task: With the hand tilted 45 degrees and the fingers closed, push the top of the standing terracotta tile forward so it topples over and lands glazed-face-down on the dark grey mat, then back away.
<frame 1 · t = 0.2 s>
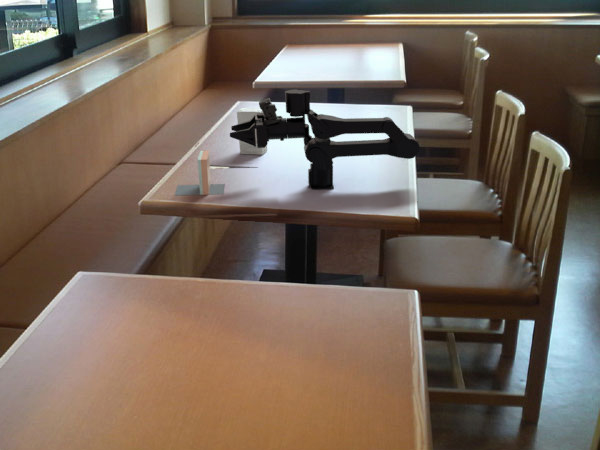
hand: (230, 131, 185), 16 cm above the table, tool horizontal, fingers open, 9 cm apart
skincare box: (253, 153, 226), on the table
tile: (205, 189, 188), point 1 cm above the table, touching mat
chocolate bar: (226, 173, 206), on the table
mat: (200, 191, 188), on the table
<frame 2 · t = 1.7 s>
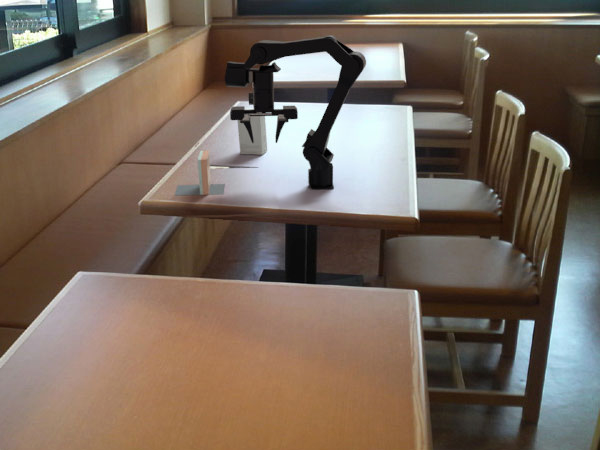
hand: (264, 142, 191), 12 cm above the table, tool pointing down, fingers open, 6 cm apart
nothing on the table moved.
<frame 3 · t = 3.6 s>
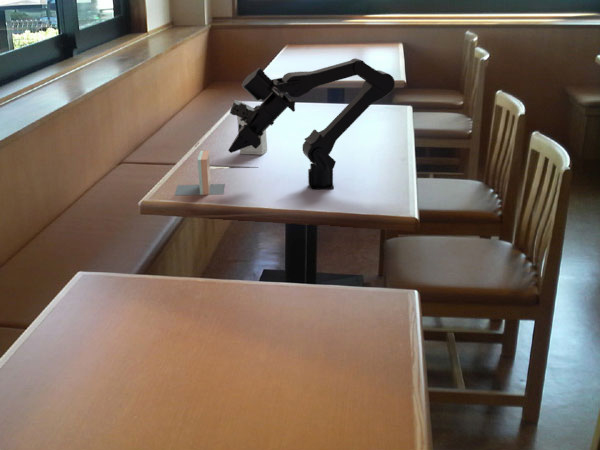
hand: (229, 151, 184), 11 cm above the table, tool tilted 45°, fingers closed
nothing on the table moved.
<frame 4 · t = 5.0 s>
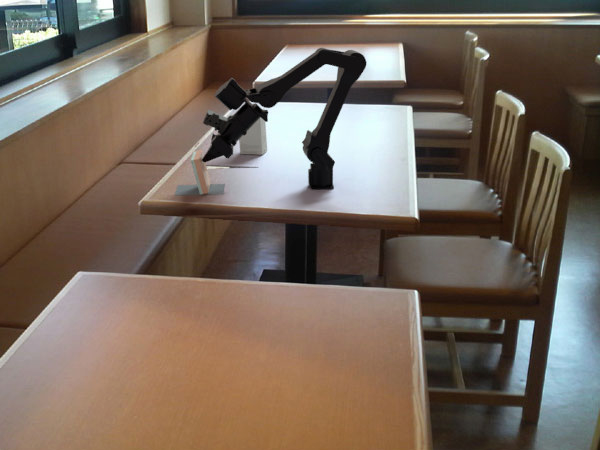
hand: (203, 161, 185), 9 cm above the table, tool tilted 45°, fingers closed
tile: (205, 188, 188), point 1 cm above the table, tilted 11°, touching mat
everything else where it was.
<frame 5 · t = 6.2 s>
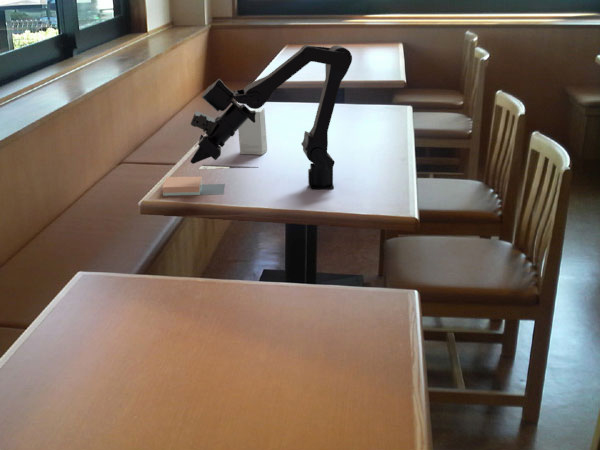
hand: (191, 162, 185), 9 cm above the table, tool tilted 45°, fingers closed
tile: (200, 185, 187), point 2 cm above the table, tilted 90°, touching mat
everything else where it was.
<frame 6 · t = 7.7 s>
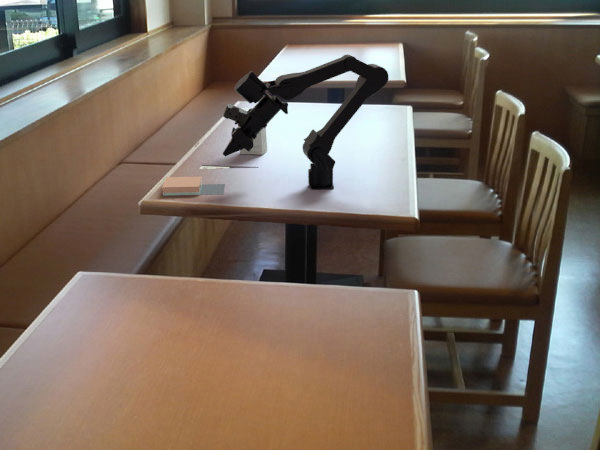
hand: (223, 154, 185), 10 cm above the table, tool tilted 45°, fingers closed
nothing on the table moved.
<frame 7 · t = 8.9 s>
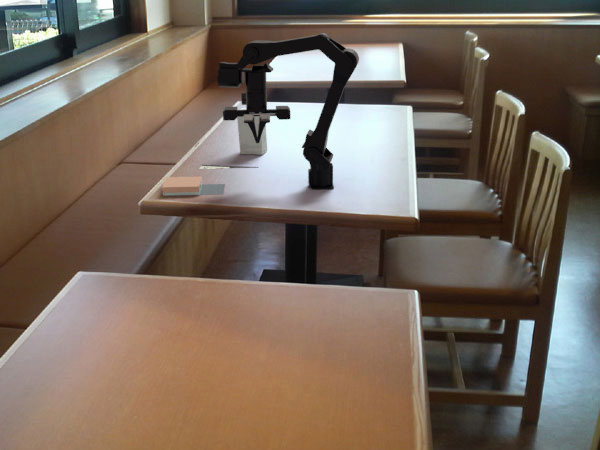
hand: (257, 142, 191), 12 cm above the table, tool pointing down, fingers closed
nothing on the table moved.
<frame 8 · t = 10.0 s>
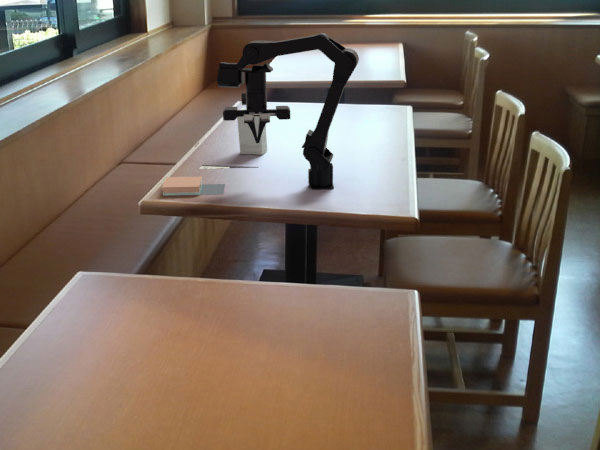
hand: (257, 142, 191), 12 cm above the table, tool pointing down, fingers closed
nothing on the table moved.
at the end: tile tilted 90°; tile inside the target area (4.7 cm from its centre), point 1.8 cm above the table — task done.
